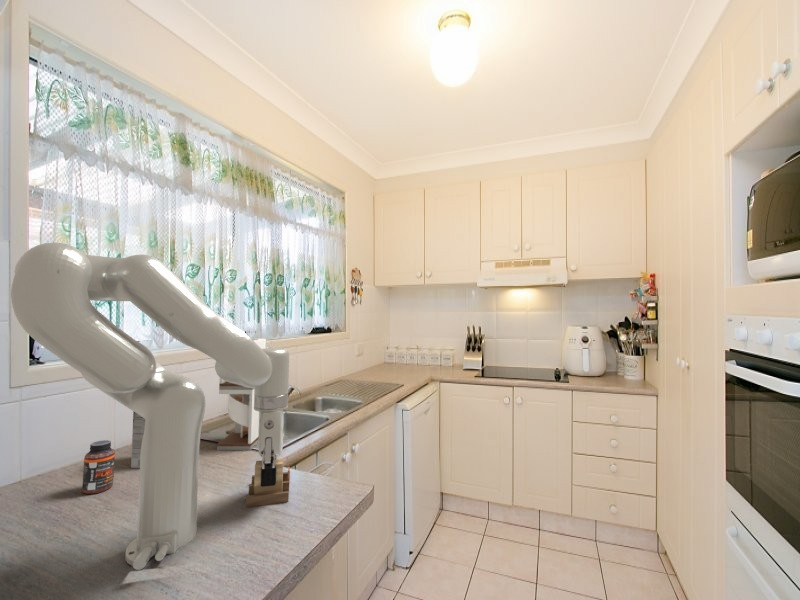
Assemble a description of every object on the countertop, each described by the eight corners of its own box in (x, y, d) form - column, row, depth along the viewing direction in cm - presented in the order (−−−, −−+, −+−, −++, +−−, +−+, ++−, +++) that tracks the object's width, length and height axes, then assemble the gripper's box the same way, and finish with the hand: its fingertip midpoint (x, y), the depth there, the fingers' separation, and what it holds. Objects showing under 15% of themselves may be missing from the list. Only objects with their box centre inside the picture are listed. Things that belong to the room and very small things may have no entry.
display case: (232, 438, 128) (235, 338, 130) (262, 438, 129) (265, 338, 130) (217, 450, 117) (220, 340, 118) (250, 450, 117) (254, 340, 119)
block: (281, 499, 83) (282, 463, 84) (253, 502, 82) (254, 466, 82) (282, 492, 86) (283, 458, 87) (255, 495, 85) (256, 460, 85)
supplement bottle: (95, 496, 86) (97, 447, 87) (75, 493, 88) (77, 445, 88) (119, 485, 92) (121, 439, 93) (100, 482, 93) (102, 437, 94)
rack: (288, 508, 82) (288, 483, 83) (245, 513, 80) (246, 488, 80) (289, 485, 93) (290, 463, 94) (251, 489, 91) (252, 467, 91)
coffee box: (148, 455, 111) (151, 402, 112) (171, 455, 112) (173, 402, 112) (129, 468, 102) (132, 410, 103) (153, 467, 103) (156, 410, 103)
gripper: (286, 409, 78) (284, 497, 77) (289, 393, 94) (287, 466, 93) (249, 411, 76) (246, 501, 75) (257, 394, 92) (255, 469, 91)
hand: (268, 481), depth 84 cm, fingers closed on block, 3 cm apart
